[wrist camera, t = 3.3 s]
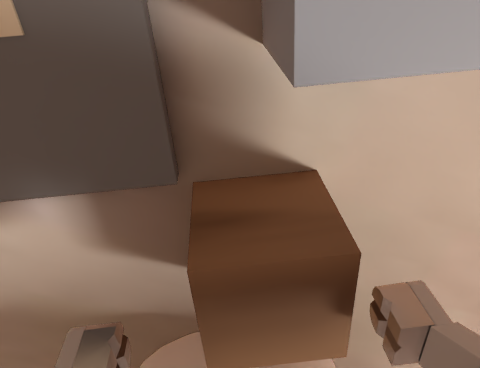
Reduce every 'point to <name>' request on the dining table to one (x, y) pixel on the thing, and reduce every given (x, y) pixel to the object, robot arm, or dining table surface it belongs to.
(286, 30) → the gray block
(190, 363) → the honey pot
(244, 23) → the dining table surface
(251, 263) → the walnut block
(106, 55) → the mat
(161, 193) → the dining table surface
